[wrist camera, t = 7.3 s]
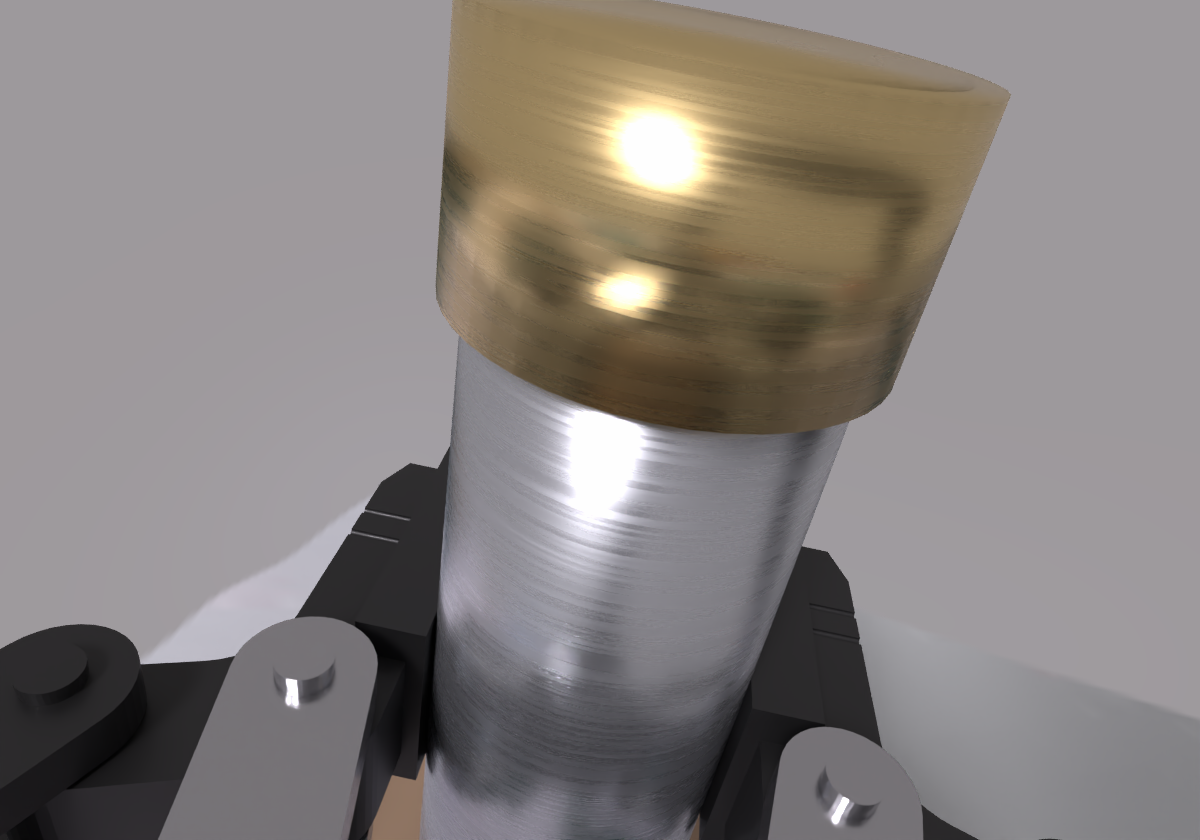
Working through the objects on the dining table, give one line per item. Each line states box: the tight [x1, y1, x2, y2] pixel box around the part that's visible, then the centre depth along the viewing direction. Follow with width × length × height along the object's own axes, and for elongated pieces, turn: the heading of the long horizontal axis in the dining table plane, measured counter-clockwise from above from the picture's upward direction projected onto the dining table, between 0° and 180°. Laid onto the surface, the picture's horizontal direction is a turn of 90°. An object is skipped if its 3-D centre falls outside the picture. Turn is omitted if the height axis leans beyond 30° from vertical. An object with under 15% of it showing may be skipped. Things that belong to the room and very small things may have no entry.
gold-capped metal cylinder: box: [419, 0, 1011, 840], centre depth 9 cm, size 4×4×16 cm
